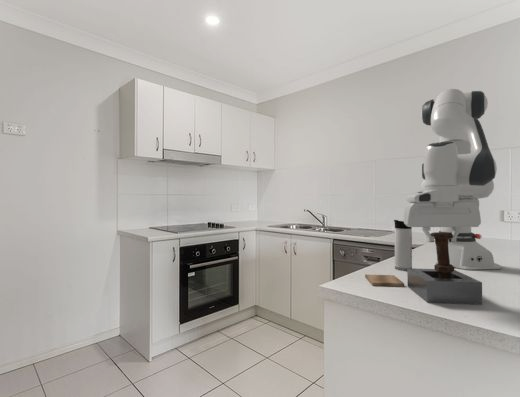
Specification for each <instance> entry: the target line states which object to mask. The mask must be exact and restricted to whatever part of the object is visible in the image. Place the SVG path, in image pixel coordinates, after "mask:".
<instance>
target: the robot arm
mask: <svg viewBox="0 0 520 397" xmlns="http://www.w3.org/2000/svg"><path fill="white" fill-rule="evenodd" d="M488 103H489V101H488V98H487V96H486V94H485V92H483V91H482V90H472V91H470V92H463V91H462V90H460V89H458V88H449V89H444V90H443V91H442V92H440V93H439V94H438V95H437V97H436V98H435V99H429V100H427V101H425V102H424V103H423V105H422V106H421V110H420V118H421V120H422V122H423V124H424V125H426V126H430V128H431V130H432V131H433V132H434V134H436V135H437V136H439V137H438V138H439V139H438V140H439V141H438V142H433V143H429V144H427V145H426V147H425V151H424V157H423V158H424V159H423V163H422V164H421V178H422V179H423V180H422V182H421V185H420V191H417V192H415V193H411V194H409V195H406V201H407V204H405V206H404V210H403V211H404V212H403V221H404V224H405V225H406V226H408V227H412V228H421V229H422V230H421V231H423V233H424V235H425V236H426V242H427V243H435V239H434V236H431V235H430V234H431V233H430V231H431V228H439V231H438V232H449V233H452V234H453V238H450V239H448V243H449V244H448V251H449V259H450V264H451V265H453V266H454V268H456V269H461V270H472V271H473V270H475V271H476V270H502V265H500V264H498V263H496V262H495V259H494V255H493V253H492V252H491V250H489V249H487V248H486V247H484V246H483V245H481V243H479V242H478V241H477V239H478V240H481V238H482V234H479V233H474V232H472V228H477V227H480V225H481V222H482V220H481V212H480V200H479V199H485V198H488V197H490V196H491V194H492V193H493V191H494V189H495V183H494V179H495V177H496V174H497V171H498V168H497V163H496V160H495V158H494V156H493V154H492V152H491V149H490V147H489V143H488V140H487V139H486V135H485V131H484V128H483V126H482V123H481V122H480V120H479V119H480V118H482V116H484V115H485V112H486V110H487V108H488ZM435 263H436V264H438V261H437V259H436V261H435Z"/></svg>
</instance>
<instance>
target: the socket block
mask: <svg viewBox="0 0 520 397" xmlns="http://www.w3.org/2000/svg"><path fill="white" fill-rule="evenodd" d="M406 272H407V287H408V289H410V290H411V291H412V292H413V293H415V294H416V295H418V296H419V297H420V298H421V299H422V300H423V301H425V302H426V303H432V304H433V303H435V304H437V303H438V304H460V305H483V282H482V281H480V280H478V279H475V278H473V277H471V276H469V275H468V274H465V273H463V272H460V271H458V270H456V269H454V271H453V272H451V279H447V278H439V272H437V271H436V270H435V268H413V267H412V268H407V271H406Z"/></svg>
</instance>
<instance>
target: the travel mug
mask: <svg viewBox="0 0 520 397" xmlns="http://www.w3.org/2000/svg"><path fill="white" fill-rule="evenodd" d="M393 222H394V269H396V270H397V269H398V270H397V271H402V270H403V271H405V272H407V268H413V248H412V247H413V242H412V241H413V237H412V236H413V233H412V232H413V230H412V228H413V227H408V226H406V225H405V224H404V220H399V219H394V220H393ZM403 271H402V272H403Z"/></svg>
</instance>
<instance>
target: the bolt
mask: <svg viewBox="0 0 520 397" xmlns="http://www.w3.org/2000/svg"><path fill="white" fill-rule="evenodd" d="M430 235H431V236H434V243H435V250H436V260H437V261H438V263H436V264H434V266H433V267H434V268H433V269H435V270H436V271H437V272H439V278H447V279H451V272H453V271H454V270H455V267H454V266H453V265H451V264H450V259H449V251H448V244H449V243H448V239H450V238H453V234H452V233H449V232H439V231H438V232H437V231H436V232H431V233H430Z"/></svg>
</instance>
